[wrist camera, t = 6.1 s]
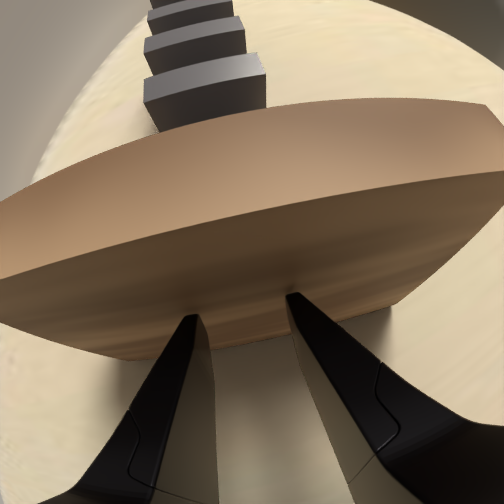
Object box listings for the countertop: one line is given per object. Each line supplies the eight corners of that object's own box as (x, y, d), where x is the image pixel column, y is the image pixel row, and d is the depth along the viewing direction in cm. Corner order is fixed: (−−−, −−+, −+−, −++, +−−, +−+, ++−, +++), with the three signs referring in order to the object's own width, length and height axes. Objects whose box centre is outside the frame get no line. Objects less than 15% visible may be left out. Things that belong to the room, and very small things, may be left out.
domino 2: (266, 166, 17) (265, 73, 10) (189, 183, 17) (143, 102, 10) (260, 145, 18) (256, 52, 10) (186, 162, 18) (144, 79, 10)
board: (395, 304, 15) (534, 167, 4) (128, 361, 15) (-52, 297, 4) (382, 267, 16) (484, 104, 5) (125, 322, 16) (-36, 225, 5)
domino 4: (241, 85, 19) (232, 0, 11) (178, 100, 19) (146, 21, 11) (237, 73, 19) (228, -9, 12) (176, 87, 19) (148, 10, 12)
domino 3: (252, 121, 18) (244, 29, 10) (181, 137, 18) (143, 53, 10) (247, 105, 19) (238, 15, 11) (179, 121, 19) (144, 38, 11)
